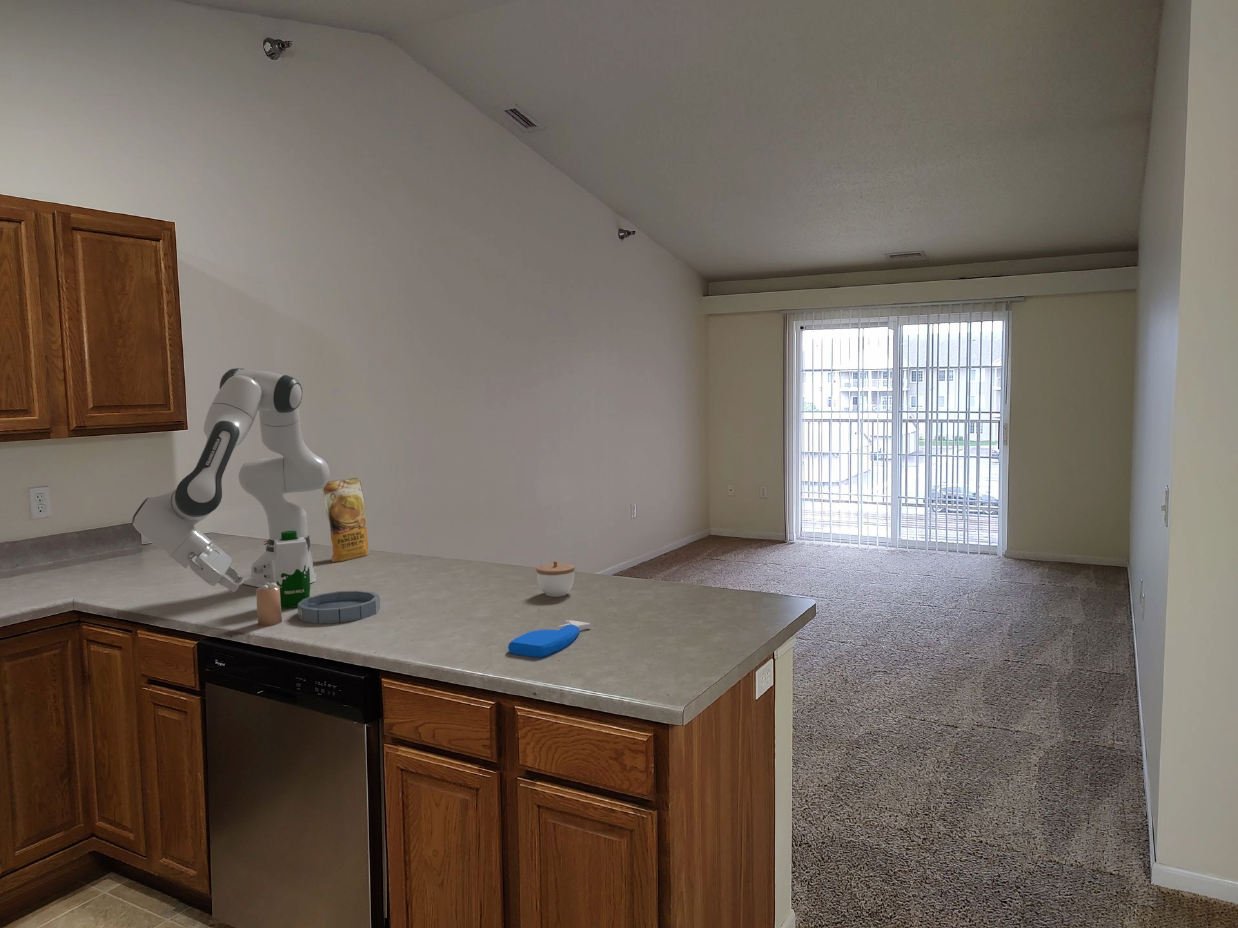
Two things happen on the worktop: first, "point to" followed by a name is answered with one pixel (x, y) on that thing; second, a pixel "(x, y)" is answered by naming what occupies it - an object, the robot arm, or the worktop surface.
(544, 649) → the spray bottle
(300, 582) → the milk carton
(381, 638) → the worktop surface
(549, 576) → the lidded jar
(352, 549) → the pancake mix bag
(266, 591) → the pebble cup
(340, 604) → the slate bowl
